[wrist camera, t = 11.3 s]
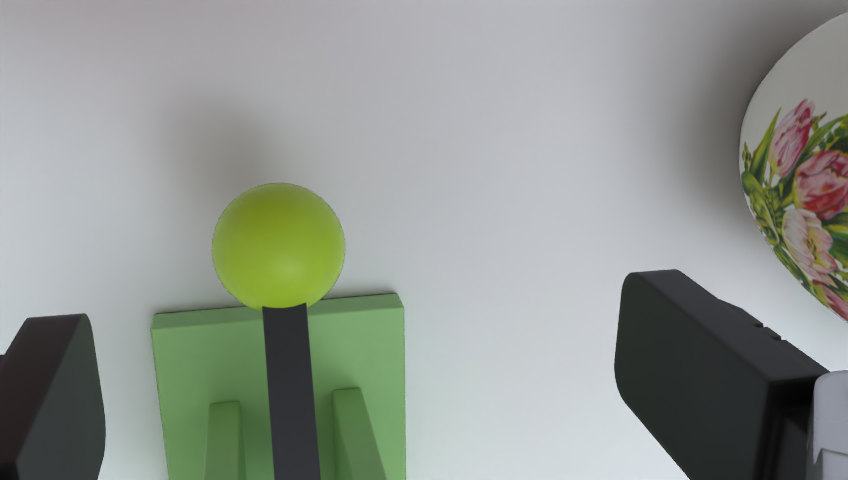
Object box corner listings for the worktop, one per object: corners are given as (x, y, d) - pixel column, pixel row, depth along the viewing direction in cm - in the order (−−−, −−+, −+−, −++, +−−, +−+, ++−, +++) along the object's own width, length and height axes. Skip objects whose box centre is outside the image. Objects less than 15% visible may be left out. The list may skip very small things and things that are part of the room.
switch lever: (213, 205, 22) (202, 170, 19) (334, 198, 23) (344, 162, 20) (244, 713, 20) (238, 774, 16) (379, 688, 20) (399, 741, 17)
